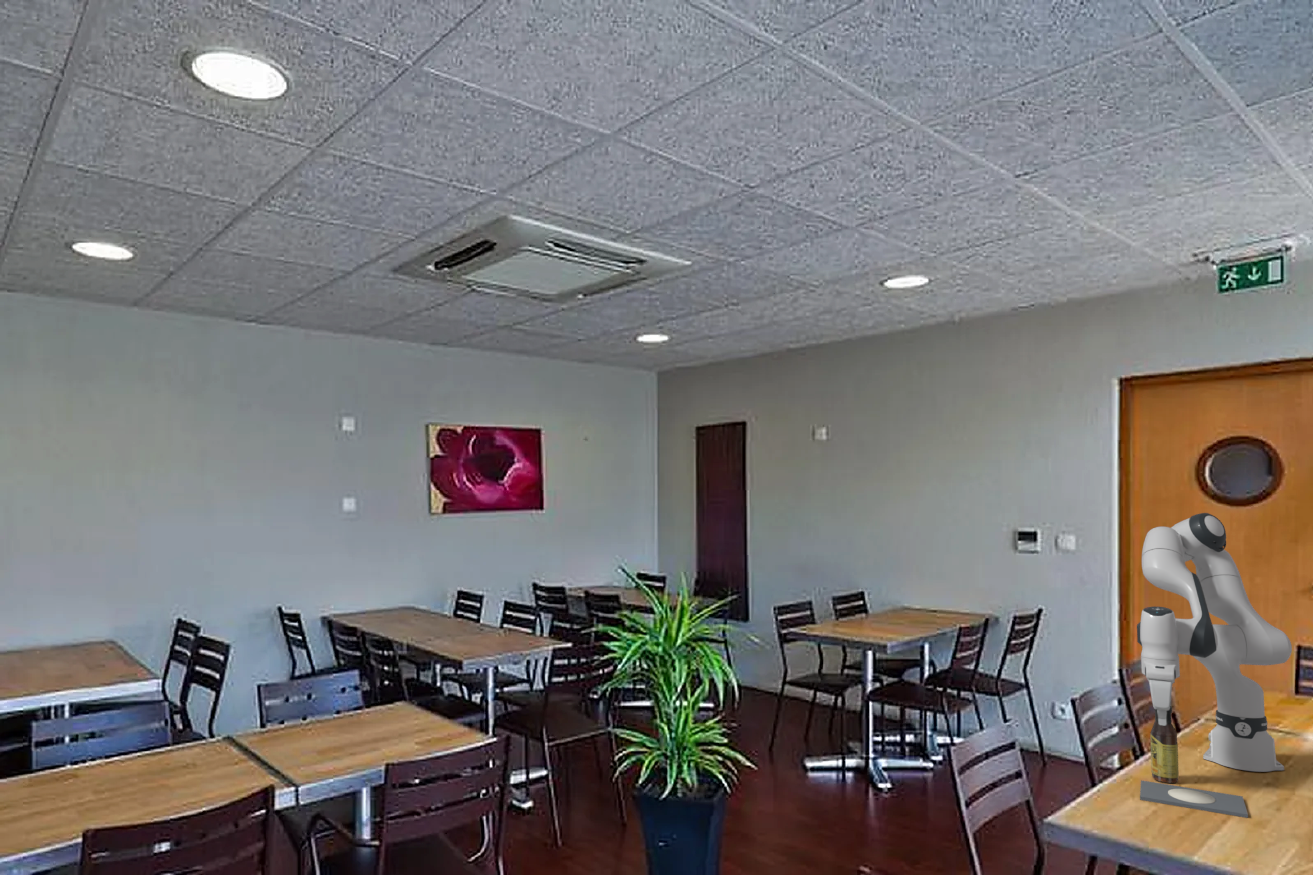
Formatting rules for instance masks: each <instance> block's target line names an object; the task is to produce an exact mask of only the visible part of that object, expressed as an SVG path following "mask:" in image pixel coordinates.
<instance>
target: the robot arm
mask: <svg viewBox="0 0 1313 875" xmlns="http://www.w3.org/2000/svg"><path fill="white" fill-rule="evenodd" d="M1144 538H1145V539H1144V541H1143V546H1142V550H1141V569H1142V575H1143V576H1144V579H1146V581H1148V582H1149V583H1150V584H1152V585H1153V586H1154V587H1156V588H1159V589H1161V590H1164V591H1167V592H1170V593H1173V594H1176V595H1179V596H1181V597H1183V598H1184V599H1186V600H1187V601H1188V603H1189V606H1190V611H1191V614H1192V618H1177V617H1176V616H1175V612H1174V610H1172V609H1171V608H1168V607H1164V606H1147V607H1144V608H1143V609H1142V611H1141V615H1140V621H1139V622H1138V623H1136V642H1137V643H1138V644H1139V645H1140V646H1141V647H1142V648H1141V649H1142V650H1141V654H1140V661H1141V662H1140V663H1141V664H1140V666H1141V667H1140V668H1141V674H1142V675H1144V676H1145V678H1146V680H1147V681H1148V685H1149V690H1150V697H1151V703H1152V706H1153V709H1157V714H1158V723H1159V725H1163V726H1165V725H1166V715H1167V711H1168V710H1169V709H1170V706H1171V702H1172V692H1173V691H1172V690H1173V684H1175V680H1176V679H1177V678H1181V675H1180V674H1181V673H1180V657H1179V655H1188V656H1191V657H1193V658H1194V659H1195V660H1197V661H1198V662H1199V663H1201V664H1202V665H1203V666H1204V667H1205V669H1206V670H1207V671H1208V672H1209V674H1210V676H1211V678H1212V680H1213V682H1214V685H1215V692H1216V693H1215V695H1216V703H1217V709H1216V710H1215V717H1214V718H1215V724H1216V726H1215V727H1213V728H1212V730H1210V732H1208V741H1210V742H1209V748H1208V749H1207V750H1206V751H1205V752H1204V753H1203V756H1202V757H1203V759H1204V760H1207V761H1210V762H1214V763H1216V764H1218V765H1221V766H1224V767H1228V768H1231V769H1236V770H1242V771H1247V772H1257V773H1258V772H1259V773H1261V772H1264V773H1265V772H1268V773H1269V772H1272V771H1285V766H1284V765H1283V764H1282V763H1280V761H1278V760H1277V756H1276V744H1275V743H1276V742H1275V738H1273V737H1272V735H1270V734H1269V732H1268V731H1267V730H1268V719H1267V716H1266V714H1265V695H1264V694H1265V693H1264V690H1263V688H1262V686H1261V685H1260V684H1259V683H1258V682H1256V681H1255V680H1253V679H1251V678H1249V677H1248V676H1246V675H1243V673H1242V672H1241V668H1240V665H1241V666H1242V665H1245V666H1246V665H1247V666H1249V665H1250V666H1251V665H1252V666H1272V665H1273V666H1275V665H1280V664H1285V663H1286V662H1288V660H1289V658H1290V657H1291V655H1292V651H1293V649H1292V642H1291V640H1290V638H1289V637H1288V635H1287V634H1286V633H1285V632H1284V631H1283V630H1281V629H1279V628H1278V627H1275V626H1273V625H1272V624H1270V623H1269V622H1268V621H1266V619H1265V618H1263V617H1262V616H1261V615H1260V614H1259V613H1258V612H1257V611H1256V609H1254V607H1253V605H1252V604H1251V602H1250V600H1249V597H1248V594H1247V592H1246V589H1245V587H1244V586H1245V585H1244V583H1243V580H1242V577H1241V574H1240V573H1241V572H1240V571H1239V568H1238V567H1237V564H1236V562H1235V561H1234V559H1233V557H1232V555H1231V554H1230V552H1228V551H1227V550H1225V549H1226V547H1227V532H1226V529H1225V526H1224V524H1223V522H1222V521H1221V520H1220V519H1219V518H1217V517H1216V516H1215V515H1213V514H1211V513H1209V512H1201V513H1200V512H1199V513H1197V514H1193V515H1191V516H1190V517H1189V518H1186V519H1183V520H1181V521H1179V522H1177V523H1176V524H1173V526H1171V527H1170V526H1156V527H1154V528H1151V529H1150V530H1148V531H1147V533H1146V535H1145V537H1144ZM1189 561H1191V562H1192V563H1193V565H1194V566H1195V573H1194V572H1191V571H1190V570H1189V568H1188V567H1187V566H1186V562H1189ZM1210 614H1211V615H1212V616H1213V617H1216V618H1218V619H1220V620H1222V621H1223V622H1225V623H1226V624H1216V623H1215V624H1213V622H1212V619H1211V616H1210Z"/></svg>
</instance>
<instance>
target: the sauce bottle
mask: <svg viewBox="0 0 1313 875" xmlns="http://www.w3.org/2000/svg"><path fill="white" fill-rule="evenodd" d="M1153 709H1154V708H1153ZM1172 709H1173V706H1171V705H1170V709H1169V710H1168V711H1167V715H1166V725H1165V726H1163V725H1159V723H1158V714H1157V709H1154V716H1155V717H1154V722H1153V725H1152V728H1151V731H1150V734H1149V735H1150V738H1149V739H1150V766H1151V775H1152V776H1151V777H1152V778H1153V779H1154V780H1155V781H1157V782H1159V783H1163V784H1170V785H1173V784H1176V783H1178V782H1179V746H1178V745H1179V743H1178V733H1177V730H1176V728H1175V727H1174V726H1173V724H1172V723H1173V721H1172V713H1173V710H1172Z"/></svg>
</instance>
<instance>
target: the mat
mask: <svg viewBox="0 0 1313 875" xmlns="http://www.w3.org/2000/svg"><path fill="white" fill-rule="evenodd" d="M1139 792H1140V793H1139V800H1140V801H1146V802H1153V803H1156V804H1157V803H1158V804H1164V805H1170V806H1175V807H1181V808H1186V809H1193V810H1198V811H1206V812H1211V813H1216V814H1223V815H1228V816H1234V817H1240V818H1246V819H1247V818H1249V814H1248V810H1247V807H1246V803H1245V801H1244V797H1243V796H1241V795H1235V794H1230V793H1224V792H1218V791H1212V790H1211V791H1210V790H1203V789H1199V788H1192V787H1186V786H1185V787H1184V786H1179V785H1173V784H1169V783H1162V782H1154V781H1153V782H1152V781H1147V780H1142V779H1141V780H1140V790H1139Z"/></svg>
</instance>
